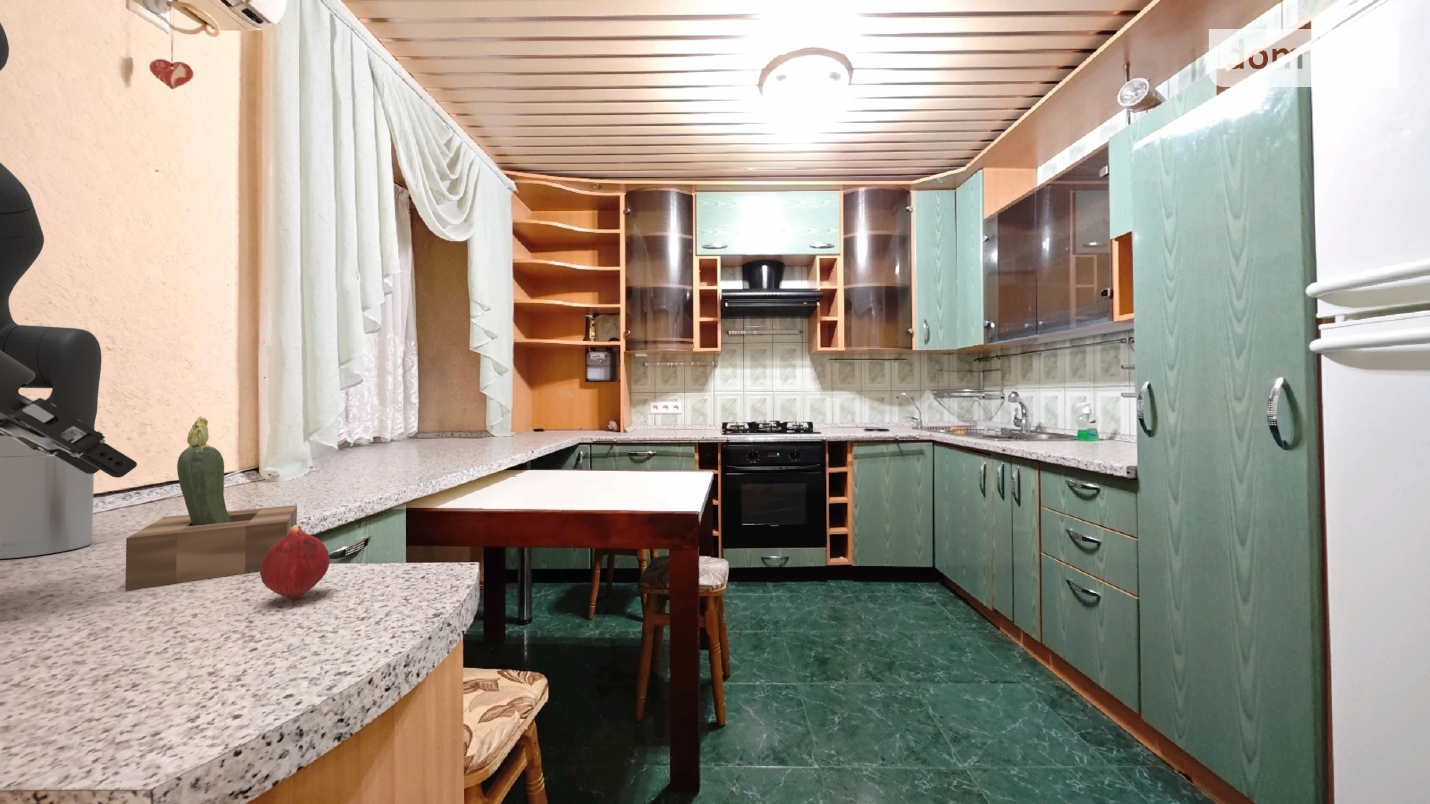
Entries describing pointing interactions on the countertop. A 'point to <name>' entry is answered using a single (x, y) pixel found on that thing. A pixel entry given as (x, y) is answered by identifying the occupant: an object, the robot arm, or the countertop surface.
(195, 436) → the vegetable
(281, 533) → the socket block
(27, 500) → the robot arm
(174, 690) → the countertop surface
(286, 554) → the onion
